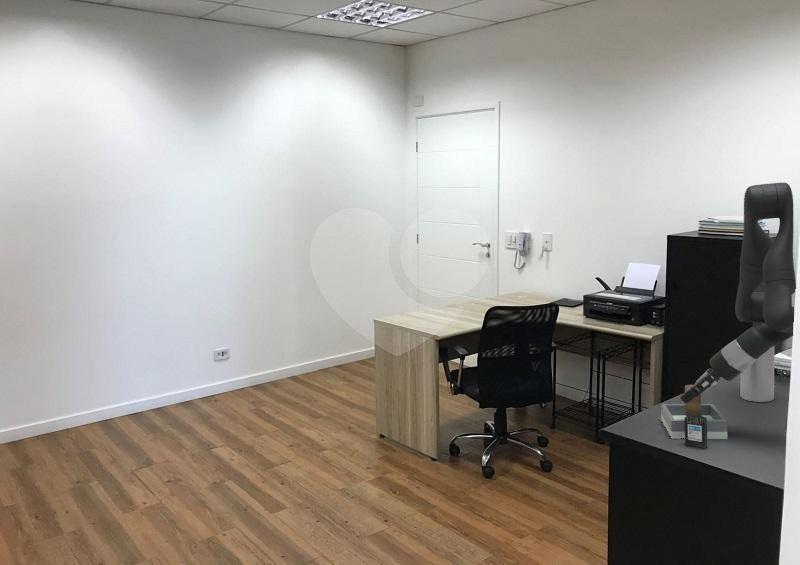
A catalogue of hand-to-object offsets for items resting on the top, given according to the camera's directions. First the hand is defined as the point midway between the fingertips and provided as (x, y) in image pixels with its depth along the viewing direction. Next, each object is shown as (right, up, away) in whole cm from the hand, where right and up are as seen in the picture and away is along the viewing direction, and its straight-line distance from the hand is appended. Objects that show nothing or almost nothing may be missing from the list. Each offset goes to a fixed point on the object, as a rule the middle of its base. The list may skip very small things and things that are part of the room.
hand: (685, 398), depth 186 cm
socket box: (+2, -9, 0) cm, 9 cm away
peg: (+2, -5, -1) cm, 5 cm away
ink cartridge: (-2, -11, -11) cm, 16 cm away
